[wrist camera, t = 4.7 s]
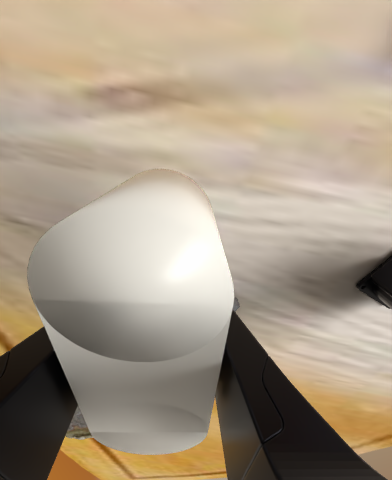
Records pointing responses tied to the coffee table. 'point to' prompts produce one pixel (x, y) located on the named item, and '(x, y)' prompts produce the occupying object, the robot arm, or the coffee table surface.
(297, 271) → the coffee table surface
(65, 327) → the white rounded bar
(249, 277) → the coffee table surface
